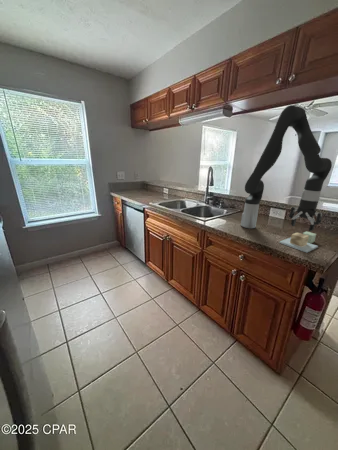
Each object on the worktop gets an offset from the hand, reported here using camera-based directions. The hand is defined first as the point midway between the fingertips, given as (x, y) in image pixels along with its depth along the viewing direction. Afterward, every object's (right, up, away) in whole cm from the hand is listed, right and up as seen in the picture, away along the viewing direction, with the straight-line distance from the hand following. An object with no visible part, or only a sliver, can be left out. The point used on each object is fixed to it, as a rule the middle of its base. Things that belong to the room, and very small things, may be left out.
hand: (301, 228), depth 101 cm
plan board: (0, -10, +3) cm, 10 cm away
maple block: (0, -8, +3) cm, 9 cm away
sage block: (+10, -8, +9) cm, 15 cm away
